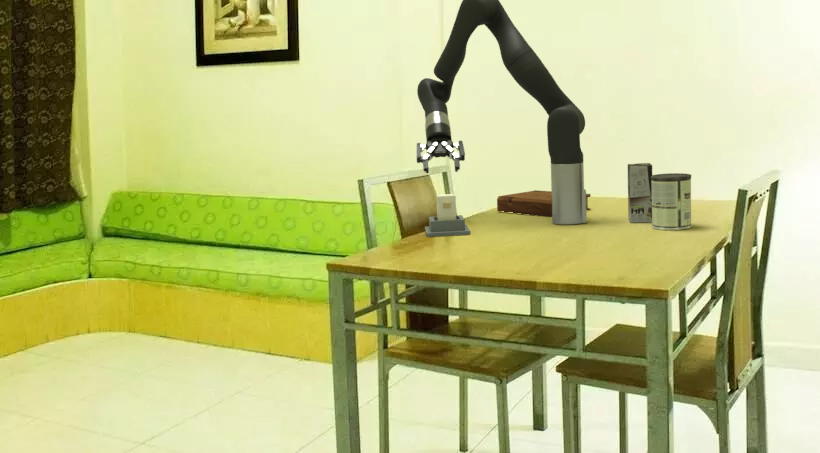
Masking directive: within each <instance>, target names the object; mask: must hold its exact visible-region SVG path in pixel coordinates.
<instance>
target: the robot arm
mask: <svg viewBox="0 0 820 453" xmlns="http://www.w3.org/2000/svg"><path fill="white" fill-rule="evenodd" d="M479 26H485V27H486V28H487V29H488V30H489V31H490V33H491V34H492V35H493V36H494V37H493V38H495V40H496V41H497V44H498V47H499V51H500V52H499V53H500V56H501V60H502V64H503V65H504V67H505V69H506V70H507V71H508V73H509V74H510V76H511V77H512V78H513V80H514V81H515V82H516V83H517V84H518V85H519V87H521V89H523V90H524V91H525V92H527V93H528V94H529V95H530V96H531V97H532V98H534V100H536V101H537V102H538V104H540V105H541V106H542V108H543V110H545V113H546V114H547V116H548V118H547V124H546V132H547V133H546V134H547V150H548V154H549V157H550V181H551V184H550V185H551V190H550V191H552V217H551V218H552V219H551V223H552V224H554V225H555V224H556V225H577V224H578V225H579V224H585V223H587V211H586V194H587V190H586V189H585V180H584V179H585V178H584V177H585V175H584V152H583V151H582V148H581V140H580V139H581V134H582V133H583V131H584V130H585V127H586V119H585V116H584V113H583V112H582V111H581V109H580V108H578V107H577V105H576V103H574V102H573V100H571V99H570V98H569V97H568V96H567V95H566V94H565V92H564V91H563V90H562V89H561V88H560V85H558V83H557V82H556V80H555V79H554V77H553V75H552V74H551V73H550V71H549V69H548V68H547V67H546V65H545V63H544V62H543V61H542V60H541V58H540V57H539V56H538V55H537V53H536V52H535V51H534V49H533V48H532V47H531V46H530V44H529V43H528V42H527V41H526V39H525V38H524V36H523V35H522V34H521V33H520V31H519V30H518V29H517V27H516V26H515V25H514V23H513V21H512V20H511V18H510V17H509V14H508V13H507V11H506V9H505V8H504V6H503V5H502V3H501V2H500V0H462V1H461V3H460V6H459V8H458V11H457V14H456V17H455V21H454V23H453V26H452V28H451V32H450V34H449V35H450V36H449V37H448V39H447V42H446V44H445V47H444V48H443V51H442V52H441V55H440V56H439V57H438V60H437V62H436V64H435V65H434V68H433V75H435V77H436V78H437V79H439V80H440V81H439V80H437V79H434V78H433V79H432V78H428V77H427V78H426V77H425V78H422V79H421V80H420V82H419V83H418V85H417V89H416V90H417V91H416V92H417V98H418V100H419V102H420V105H421V107H422V109H423V110H424V117H425V124H424V128H425V129H424V131H425V139H426V143H425V144H422V143H421V142H416V163H417V164H420V163H422V168H423V172H425V173H426V174H429V171H430V170H429V168H430V167H429V162H430V161H431V160H432V159H433V158H434V157H435V158H446V157H447V158H448V159H450V160H452V161H453V162H454V172H455V173H458V171H460V170H461V168H460V167H461V165H460V162H461V161H463V162H464V161H465V160H466V158H465V157H466V156H465V155H466V152H465V147H464V142H463V140H458V141H457V142H454V141H452V130H451V123H450V120H449V112H448V107H447V103H448V102H449V101H450V98H451V95H452V91H453V85H454V81H455V78H456V76H457V75H458V73H459V71H460V69H461V67H462V65H463V63H464V60H465V58H466V53H467V45H468V42H469V39H470V38H471V36H472V34H473V33H474V31H475V30H476V29H477V28H478V27H479ZM454 148H455V149H456V151H458V152H459V154H458V152H456V151H455V149H454ZM424 150H426V153H425V154H424V155H423V156H422V153H423V152H424Z"/></svg>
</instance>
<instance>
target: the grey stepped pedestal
mask: <svg viewBox="0 0 820 453" xmlns="http://www.w3.org/2000/svg"><path fill="white" fill-rule="evenodd" d="M465 220H466V219H465V218H464V217H463V215H462V214H459V215H458V214H456V220H438V219H437V216H429V217H428V221H429V222H428V223H429V226H424V232H425V235H426V238H435V237H434V236H438V237H453V236H454V235H457V236H470V235H469V234H471V230H470V228H469V226H468V225H467V224H466V221H465Z"/></svg>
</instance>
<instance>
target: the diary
mask: <svg viewBox="0 0 820 453" xmlns="http://www.w3.org/2000/svg"><path fill="white" fill-rule="evenodd" d="M591 195H592V194H591V193H586V210H588V211H591V210H590V209H591V208H590V207H589V205H588V203H589V201H588V200H589V199H588V198H591ZM496 208H497V212H498V211H504V212H513V213H521V214H520V215H524V214H529V215H528V216H535V215H537V217H547V218H552V190H549V191H548V190H537V189H535V190H530V191H524V192H518V193H517V192H516V193H511V194H505V195H498V196H497V199H496ZM513 213H512V214H513Z"/></svg>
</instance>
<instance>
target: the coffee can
mask: <svg viewBox="0 0 820 453" xmlns="http://www.w3.org/2000/svg"><path fill="white" fill-rule="evenodd" d="M651 184H652V222H651V225H652V226H651V228H652V229H653V230H659V231H679V230H680V231H683V230H688V229H691V228H692V174H690V173H682V172H681V173H676V172H675V173H659V174H652V176H651Z"/></svg>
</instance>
